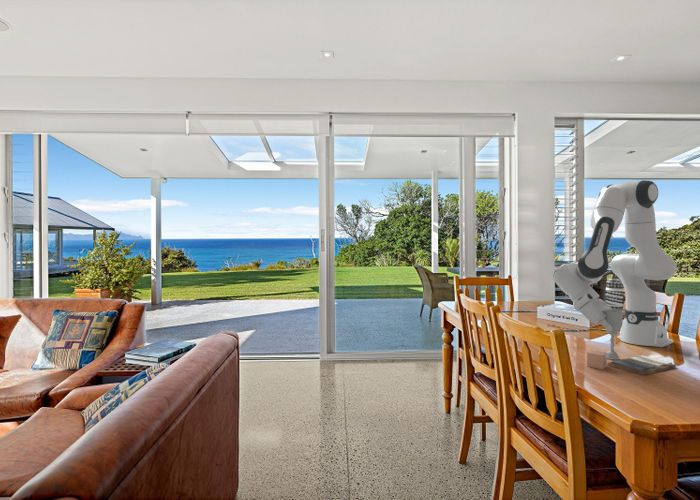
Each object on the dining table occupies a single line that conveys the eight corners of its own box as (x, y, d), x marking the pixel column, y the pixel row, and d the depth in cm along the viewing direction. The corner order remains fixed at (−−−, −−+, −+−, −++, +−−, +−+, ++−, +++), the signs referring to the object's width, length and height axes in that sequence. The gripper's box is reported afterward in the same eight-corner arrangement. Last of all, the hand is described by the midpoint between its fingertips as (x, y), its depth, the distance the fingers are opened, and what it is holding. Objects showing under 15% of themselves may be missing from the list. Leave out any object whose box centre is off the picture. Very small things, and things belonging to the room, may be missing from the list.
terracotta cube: (590, 363, 155) (591, 350, 155) (606, 366, 151) (606, 352, 151) (587, 366, 151) (587, 352, 151) (602, 369, 148) (603, 355, 148)
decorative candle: (608, 329, 214) (609, 279, 213) (600, 325, 223) (601, 278, 223) (627, 330, 213) (629, 280, 212) (619, 326, 222) (620, 278, 221)
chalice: (620, 356, 164) (621, 310, 163) (625, 361, 158) (626, 312, 157) (598, 354, 166) (600, 308, 166) (602, 359, 160) (604, 311, 159)
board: (639, 358, 162) (639, 354, 161) (675, 367, 151) (675, 362, 151) (607, 365, 152) (607, 360, 152) (643, 375, 142) (643, 370, 142)
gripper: (588, 301, 177) (615, 329, 170) (572, 307, 162) (599, 337, 156) (601, 292, 173) (628, 319, 167) (585, 297, 159) (614, 327, 152)
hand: (614, 328), depth 161 cm, fingers closed on chalice, 6 cm apart
